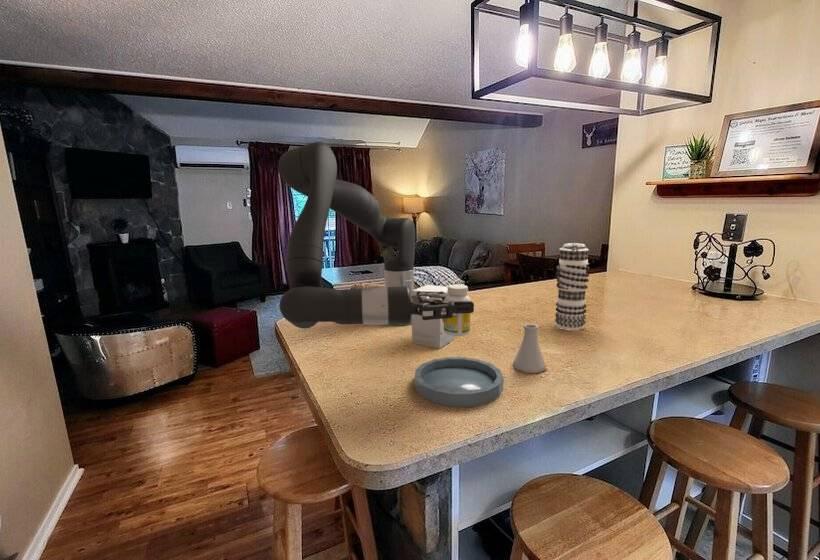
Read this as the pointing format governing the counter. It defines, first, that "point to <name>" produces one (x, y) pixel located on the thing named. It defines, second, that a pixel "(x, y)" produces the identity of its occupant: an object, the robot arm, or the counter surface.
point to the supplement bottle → (459, 321)
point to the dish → (458, 381)
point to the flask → (529, 352)
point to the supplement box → (429, 324)
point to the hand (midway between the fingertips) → (469, 303)
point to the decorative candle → (572, 286)
